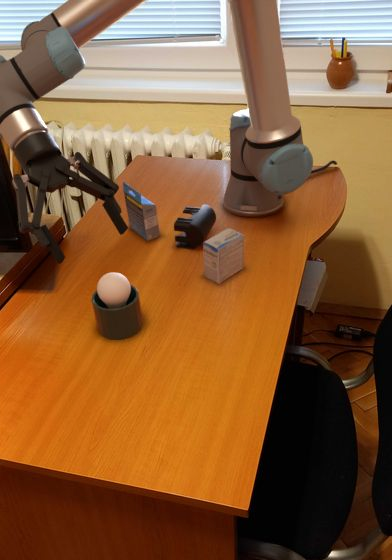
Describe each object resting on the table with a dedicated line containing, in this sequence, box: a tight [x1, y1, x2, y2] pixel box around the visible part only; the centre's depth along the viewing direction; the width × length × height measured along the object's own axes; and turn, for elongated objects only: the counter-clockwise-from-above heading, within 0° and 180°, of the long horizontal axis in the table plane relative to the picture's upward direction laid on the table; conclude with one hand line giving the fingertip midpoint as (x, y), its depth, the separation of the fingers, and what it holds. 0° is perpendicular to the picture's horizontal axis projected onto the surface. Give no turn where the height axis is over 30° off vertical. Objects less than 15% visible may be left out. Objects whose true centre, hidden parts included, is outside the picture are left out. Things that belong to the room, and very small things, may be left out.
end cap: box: [173, 203, 217, 250], centre depth 128 cm, size 10×7×7 cm
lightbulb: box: [96, 271, 131, 309], centre depth 103 cm, size 6×6×11 cm
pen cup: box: [91, 284, 144, 341], centre depth 105 cm, size 9×9×7 cm
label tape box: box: [122, 180, 161, 242], centre depth 130 cm, size 9×4×12 cm, turn 34°
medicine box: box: [202, 227, 245, 285], centre depth 116 cm, size 8×4×9 cm, turn 134°
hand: (94, 245), depth 99 cm, fingers open, 13 cm apart
